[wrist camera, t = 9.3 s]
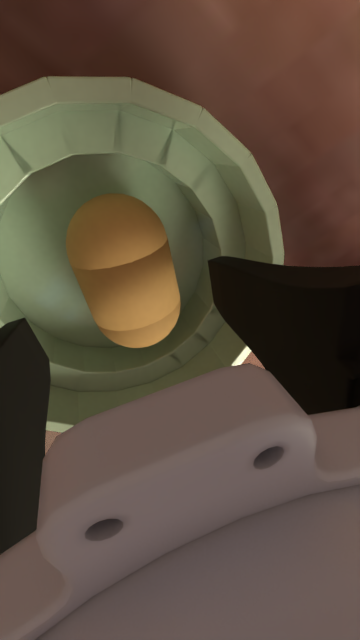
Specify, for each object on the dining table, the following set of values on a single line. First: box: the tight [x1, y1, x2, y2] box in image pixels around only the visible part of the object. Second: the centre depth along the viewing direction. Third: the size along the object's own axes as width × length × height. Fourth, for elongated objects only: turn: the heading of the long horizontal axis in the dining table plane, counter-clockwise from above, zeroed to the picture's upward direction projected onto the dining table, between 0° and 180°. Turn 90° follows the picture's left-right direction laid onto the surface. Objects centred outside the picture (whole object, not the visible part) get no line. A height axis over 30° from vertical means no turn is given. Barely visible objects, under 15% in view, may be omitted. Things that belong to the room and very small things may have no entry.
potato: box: [66, 193, 181, 348], centre depth 14 cm, size 7×4×4 cm, turn 11°
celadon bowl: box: [0, 76, 285, 433], centre depth 14 cm, size 14×14×6 cm
